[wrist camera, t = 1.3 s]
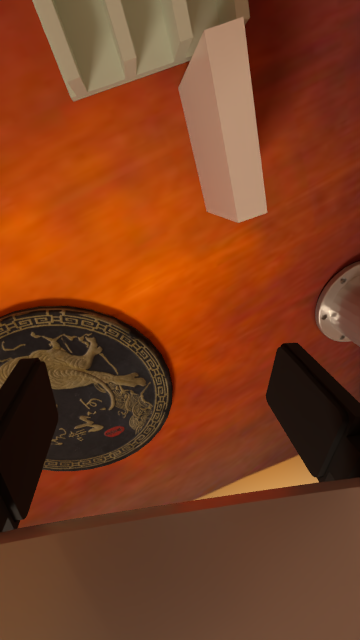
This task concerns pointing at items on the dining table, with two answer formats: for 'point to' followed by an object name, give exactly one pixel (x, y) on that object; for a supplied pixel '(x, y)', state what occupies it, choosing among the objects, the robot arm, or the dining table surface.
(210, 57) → the tall tan prism
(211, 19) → the dish rack
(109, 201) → the dining table surface
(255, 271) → the dining table surface
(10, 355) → the decorative plate
